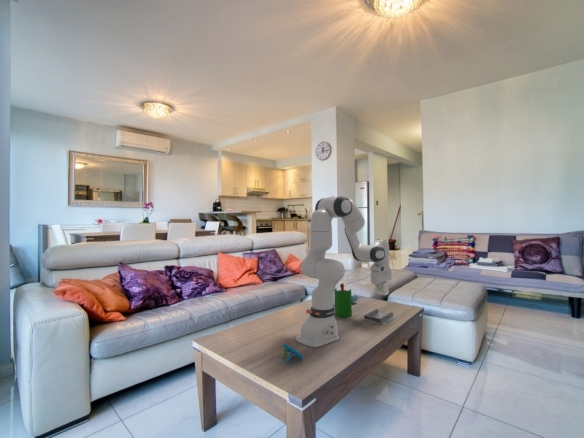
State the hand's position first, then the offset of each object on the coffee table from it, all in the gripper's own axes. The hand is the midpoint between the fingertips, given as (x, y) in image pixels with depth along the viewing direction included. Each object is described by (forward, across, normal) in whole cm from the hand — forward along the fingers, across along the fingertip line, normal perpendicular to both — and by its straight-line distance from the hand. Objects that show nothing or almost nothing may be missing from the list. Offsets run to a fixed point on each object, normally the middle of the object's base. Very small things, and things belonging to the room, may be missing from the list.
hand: (381, 289), depth 165 cm
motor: (+17, +14, -18) cm, 28 cm away
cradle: (+16, +6, +1) cm, 17 cm away
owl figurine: (+16, -11, -32) cm, 37 cm away
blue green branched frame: (+18, +72, -5) cm, 75 cm away
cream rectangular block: (+3, 0, 0) cm, 3 cm away
